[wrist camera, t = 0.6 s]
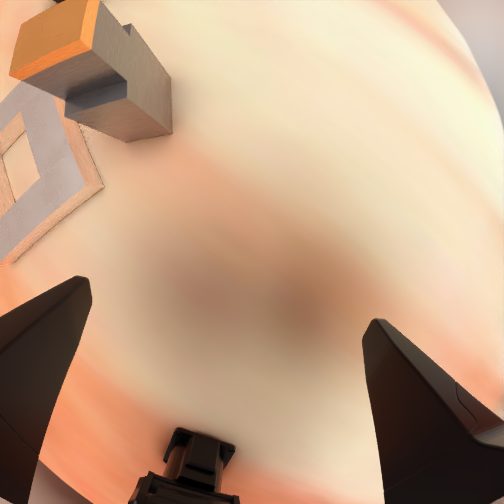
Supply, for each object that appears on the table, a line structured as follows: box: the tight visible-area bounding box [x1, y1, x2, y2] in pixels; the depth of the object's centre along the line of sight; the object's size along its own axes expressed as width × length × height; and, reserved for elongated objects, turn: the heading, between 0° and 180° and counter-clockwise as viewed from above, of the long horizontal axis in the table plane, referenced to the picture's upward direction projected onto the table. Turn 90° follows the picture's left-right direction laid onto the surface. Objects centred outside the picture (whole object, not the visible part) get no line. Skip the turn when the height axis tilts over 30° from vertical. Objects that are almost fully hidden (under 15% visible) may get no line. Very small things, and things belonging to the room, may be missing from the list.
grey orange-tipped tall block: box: [9, 0, 173, 143], centre depth 14 cm, size 5×4×14 cm
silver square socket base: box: [0, 81, 104, 267], centre depth 20 cm, size 14×14×3 cm
